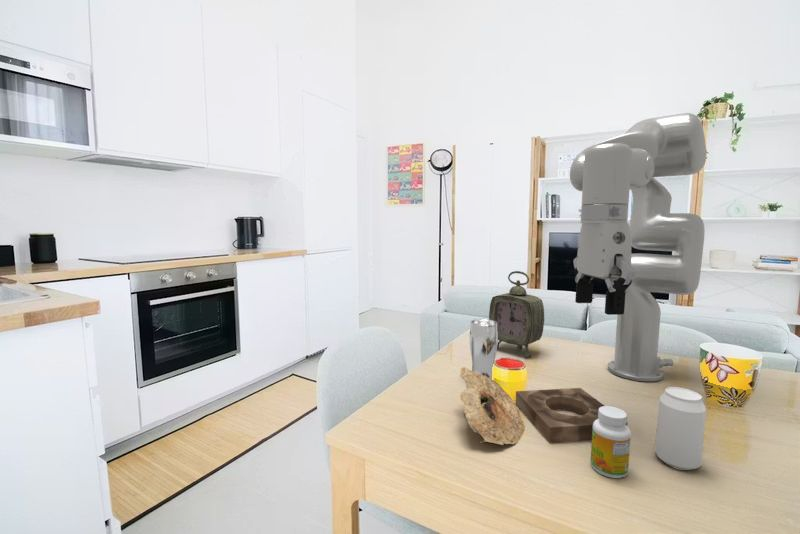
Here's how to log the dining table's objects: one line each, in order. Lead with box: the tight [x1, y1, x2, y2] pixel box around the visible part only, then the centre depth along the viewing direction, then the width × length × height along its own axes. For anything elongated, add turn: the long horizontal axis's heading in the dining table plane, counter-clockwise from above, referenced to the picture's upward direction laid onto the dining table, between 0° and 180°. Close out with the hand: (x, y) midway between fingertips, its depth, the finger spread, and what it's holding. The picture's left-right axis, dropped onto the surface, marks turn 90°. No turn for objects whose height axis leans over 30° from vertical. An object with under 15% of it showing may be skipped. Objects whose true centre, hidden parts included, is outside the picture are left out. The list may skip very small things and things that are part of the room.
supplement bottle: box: [590, 405, 632, 479], centre depth 62 cm, size 5×5×10 cm
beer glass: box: [469, 318, 499, 379], centre depth 96 cm, size 7×7×15 cm
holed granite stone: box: [459, 366, 526, 446], centre depth 76 cm, size 18×14×8 cm
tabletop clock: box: [488, 270, 545, 358], centre depth 117 cm, size 14×9×25 cm, turn 43°
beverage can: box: [654, 386, 707, 471], centre depth 63 cm, size 6×6×12 cm
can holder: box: [515, 387, 628, 444], centre depth 77 cm, size 15×15×3 cm
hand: (597, 308), depth 71 cm, fingers open, 9 cm apart
